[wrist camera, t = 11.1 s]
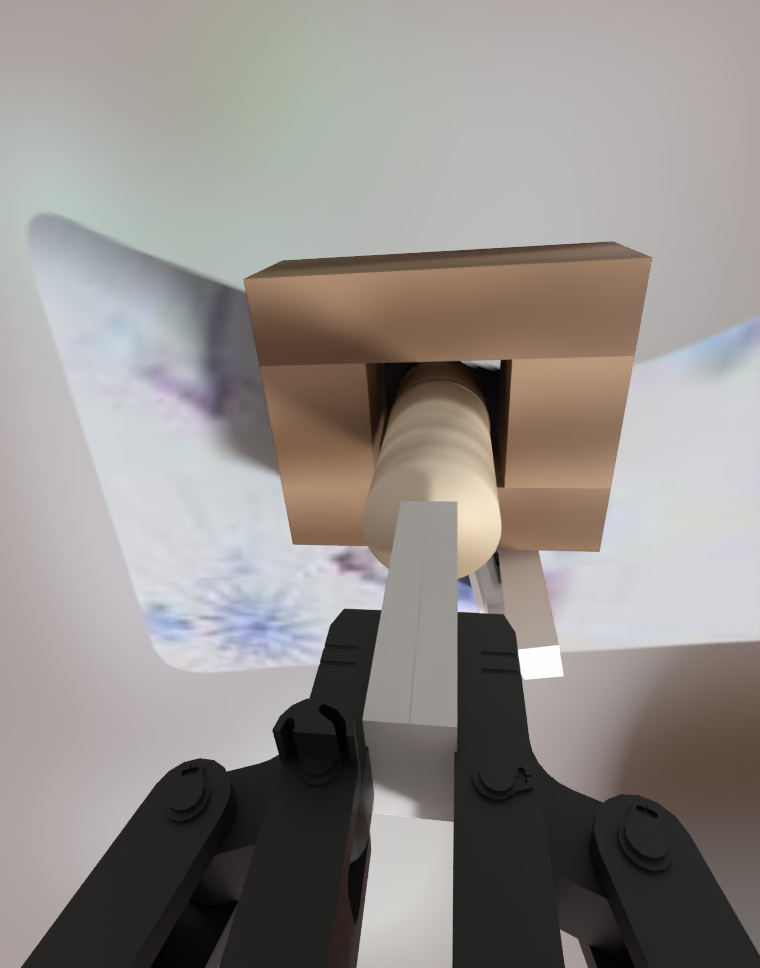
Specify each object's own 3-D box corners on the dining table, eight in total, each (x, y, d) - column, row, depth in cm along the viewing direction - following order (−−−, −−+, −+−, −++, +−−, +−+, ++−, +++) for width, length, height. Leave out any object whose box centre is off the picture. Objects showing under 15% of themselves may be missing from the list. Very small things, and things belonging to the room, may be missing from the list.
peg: (397, 345, 25) (354, 466, 14) (486, 342, 24) (507, 466, 14) (401, 425, 27) (365, 581, 16) (483, 424, 26) (499, 585, 16)
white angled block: (518, 451, 24) (558, 645, 19) (534, 537, 32) (565, 687, 28) (440, 467, 25) (461, 655, 20) (475, 546, 33) (496, 693, 28)
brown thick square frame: (282, 260, 23) (243, 279, 19) (612, 241, 21) (652, 257, 17) (317, 490, 29) (292, 544, 25) (577, 492, 27) (599, 551, 23)
